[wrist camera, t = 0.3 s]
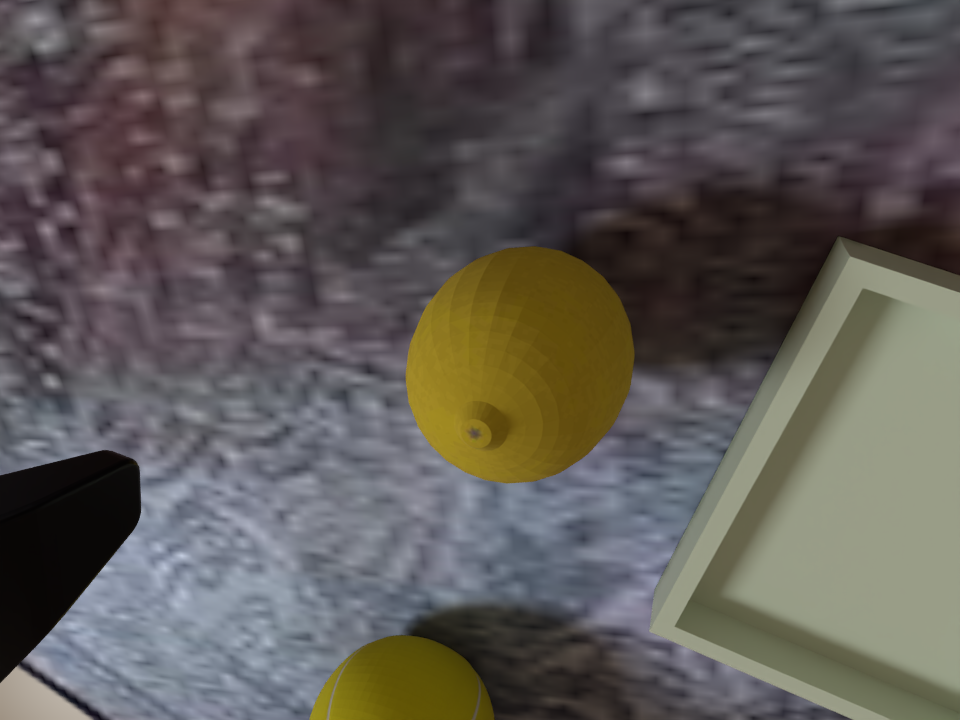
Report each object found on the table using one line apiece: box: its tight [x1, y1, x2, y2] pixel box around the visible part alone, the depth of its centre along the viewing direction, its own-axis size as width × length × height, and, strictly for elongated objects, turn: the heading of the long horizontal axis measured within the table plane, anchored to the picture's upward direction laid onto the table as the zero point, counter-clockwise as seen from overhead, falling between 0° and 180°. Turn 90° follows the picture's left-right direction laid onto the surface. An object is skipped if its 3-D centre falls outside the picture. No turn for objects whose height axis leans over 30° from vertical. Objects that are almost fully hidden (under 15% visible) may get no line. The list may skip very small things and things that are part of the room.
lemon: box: [406, 246, 634, 483], centre depth 18 cm, size 6×6×8 cm
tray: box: [649, 236, 960, 720], centre depth 20 cm, size 13×11×2 cm
